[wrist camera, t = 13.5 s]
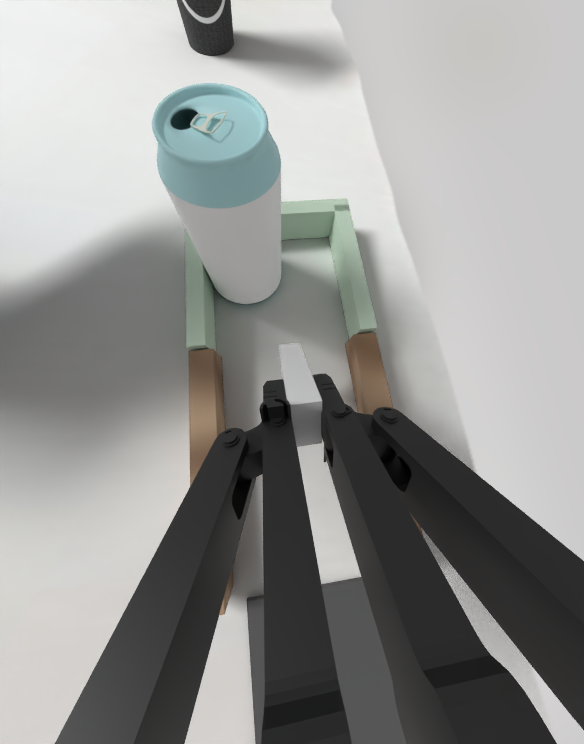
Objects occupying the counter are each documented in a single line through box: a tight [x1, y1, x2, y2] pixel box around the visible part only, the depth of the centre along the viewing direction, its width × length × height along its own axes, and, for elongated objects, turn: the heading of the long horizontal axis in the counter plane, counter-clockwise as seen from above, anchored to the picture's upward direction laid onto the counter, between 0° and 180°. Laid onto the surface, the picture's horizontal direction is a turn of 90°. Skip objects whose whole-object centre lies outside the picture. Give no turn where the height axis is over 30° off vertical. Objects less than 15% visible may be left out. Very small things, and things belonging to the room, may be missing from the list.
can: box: [152, 83, 281, 304], centre depth 17 cm, size 7×7×12 cm
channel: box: [189, 332, 423, 615], centre depth 17 cm, size 18×16×2 cm
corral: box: [185, 199, 378, 351], centre depth 21 cm, size 14×16×3 cm
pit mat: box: [247, 577, 407, 744], centre depth 15 cm, size 10×10×1 cm
